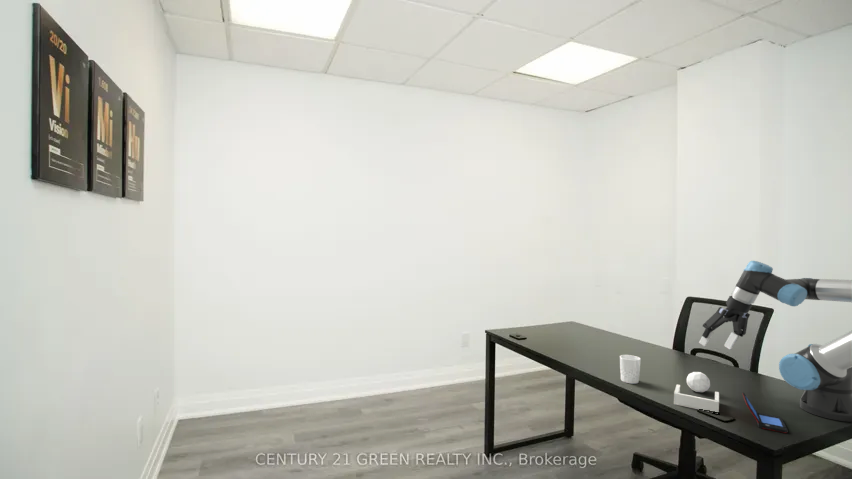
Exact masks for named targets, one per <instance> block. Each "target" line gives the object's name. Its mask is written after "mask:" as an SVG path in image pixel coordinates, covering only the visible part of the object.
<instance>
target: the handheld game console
mask: <svg viewBox="0 0 852 479" xmlns="http://www.w3.org/2000/svg"><path fill="white" fill-rule="evenodd" d="M742 396H743V400H744V402H745V404H746V406H747V408H748V409H749V412H750V413H751V414H752V416H753V417H754V419H755V421H756V424H757V427H758V428H759V429H763V430H769V431H773V432H777V433H783V434H787V433H789V429H788V428H787V426H786V424H785V421H784V420H783V418H782V417H780V416H777V415H773V414H769V413H762V412H758V411H757V410H756V409H755V408H754V406H753V404H752V403H751V401H750V399H749V398H748V397H747V395H746V394H745V392H742Z"/></svg>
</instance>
